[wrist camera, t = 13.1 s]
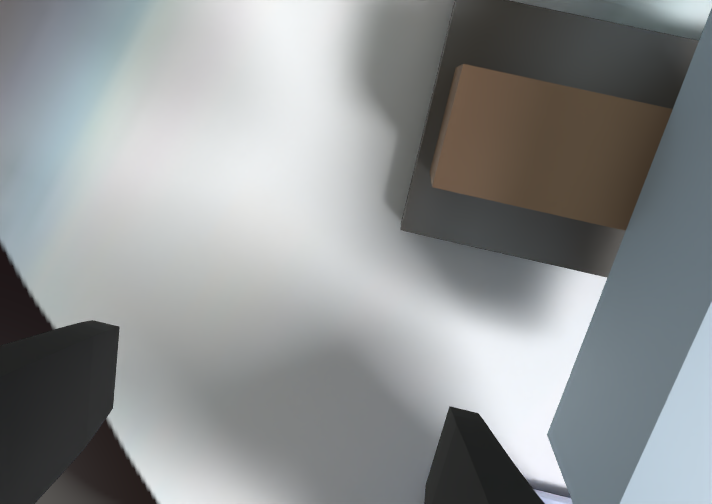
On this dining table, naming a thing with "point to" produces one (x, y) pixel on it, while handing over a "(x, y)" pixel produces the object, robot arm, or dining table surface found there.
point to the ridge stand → (542, 132)
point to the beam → (652, 332)
